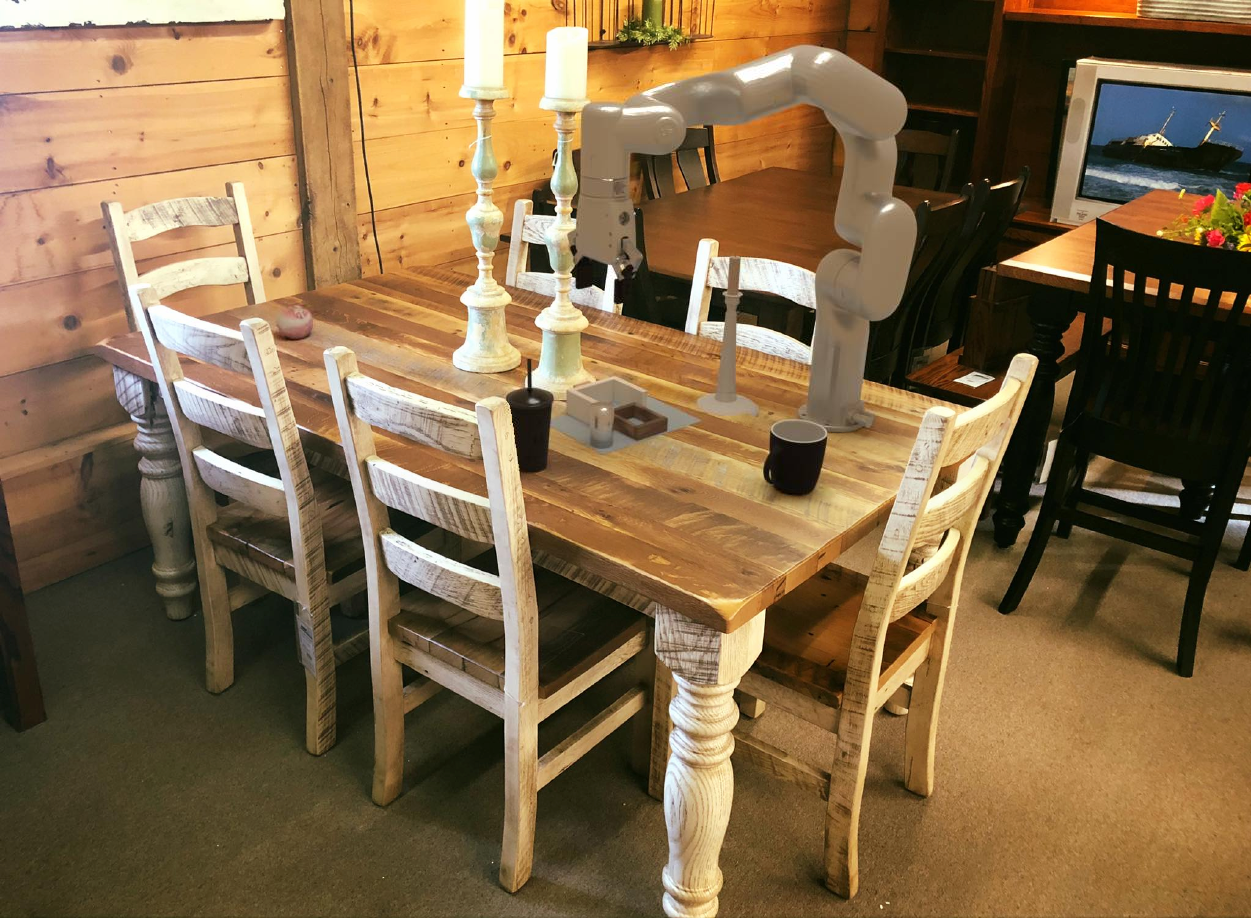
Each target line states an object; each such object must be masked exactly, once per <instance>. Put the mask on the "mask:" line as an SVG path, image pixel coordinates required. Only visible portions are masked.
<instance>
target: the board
mask: <svg viewBox="0 0 1251 918" xmlns="http://www.w3.org/2000/svg"><path fill="white" fill-rule="evenodd" d="M611 403H612V404H613V405H614V408H617V407H620V406H622V405H620V404H617V403H615V402H611ZM647 408H648V409H650V410H652V411H654V412H656V413H658V414H661V415H663V416H665V417H667V418H668V427H667V431H666V432H663V433H660V434H657V435H654V436H651V437H648V438H645V439H642V440H639V441H636V440H634V439H632V438H630V437H628V436H626V435H624V434H622V433H620V432H618V431H616V430H614V438H613V446H611V447H609V448H605V449H600V448H595V447H592V446H591V445H590V425H589V424H587V423H585V422H583V421H581V420H579V419H577V418H575V417H574V416H572V415H570V414H568V413H566V414H564V415H560V416H557V417H555V418H551V423H550V428H553V429H555V430H557V431H559V432H560V433H563V434H564V435H566V436H567V437H570V438H571V439H573V440H575V441H578V442H579V443H581V444H583V445H585V446H586V447H587V448H590V449H592V450H594V451H596V452H597V453H599V454H602V455H606V454H610V453H613V452H616V451H619V450H622V449H624V448H627V447H630V446H633V445H636V444H639V443H641V442H645V441H647V440H650V439H653V438H656V437H659V436H662V435H664V434H668V433H670V432H673V431H676V430H680V429H682V428H686V427H688V426H691V425H694V424H696V423H700V422H702V420H701V419H699V418H697V417H695V416H693V415H691V414H689V413H686V412H685V411H682V410H679V409H677V408H676V407H673V406H671V405H668V404H667V403H665V402H663V401H660V400H658V399H656V398H654V397H651V396H649V395H647ZM627 420H629V421H631V422H633V423H635V424H637V425H640V424H643V423H644V422H642V421H640V420H638V419H636V418H631V419H627Z"/></svg>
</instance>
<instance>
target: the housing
mask: <svg viewBox="0 0 1251 918" xmlns="http://www.w3.org/2000/svg"><path fill="white" fill-rule="evenodd" d="M572 386H573V387H571V388H568V389H566V391H565V392H566V393H565V394H566V395H565V396H566V401H565V402H566V405H565V407H566V408H565V409H566V414H570V415H572V416H574V417H575V418H577V419H579V420H581V421H583V422H585V423H587V424H589V425H590V405H591V404H592V403H594V402H600V401H604V402H610V403H611V402H615V403H617V404H620V405H622V406H624V405H627V404H630V403H633V402H635V403H637V404H639V405H642V406H644V407H646V408H647V396H648V390H647V389H644V388H642V387H640V386H638V385H635V384H633V383H631V382H629V381H627V380H625V379H622V378H620V377H618V376H616V375H614V376H613V375H612V376H610V377H606V378H603V379H598V380H596V381H590V380H586V381H584V382H580V383H576V384H573V385H572Z"/></svg>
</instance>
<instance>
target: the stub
mask: <svg viewBox="0 0 1251 918" xmlns="http://www.w3.org/2000/svg"><path fill="white" fill-rule="evenodd" d="M613 438H614V405H613V404H612V403H610V402H604V401H600V402H594V403H592V404H591V405H590V445H591V446H592V447H595V448H600V449H605V448H609V447H611V446H613Z"/></svg>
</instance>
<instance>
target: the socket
mask: <svg viewBox="0 0 1251 918" xmlns="http://www.w3.org/2000/svg"><path fill="white" fill-rule="evenodd" d="M631 418H636V419H638V420H640V421H642V422H644V423H643V424H640V425H637V424H635V423H633V422H631V421H629V420H627V419H631ZM667 427H668V418H667V417H665V416H663V415H661V414H658V413H656V412H654V411H652V410H650V409H648V408H646V407H644V406H642V405H639V404H637V403H635V402H633V403H630V404H627V405H624V406H620V407H617V408H614V430H616V431H618V432H620V433H622V434H624V435H626V436H628V437H630V438H632V439H634V440H636V441H639V440H642V439H645V438H648V437H651V436H654V435H657V434H660V433H663V432H666V431H667Z"/></svg>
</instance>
